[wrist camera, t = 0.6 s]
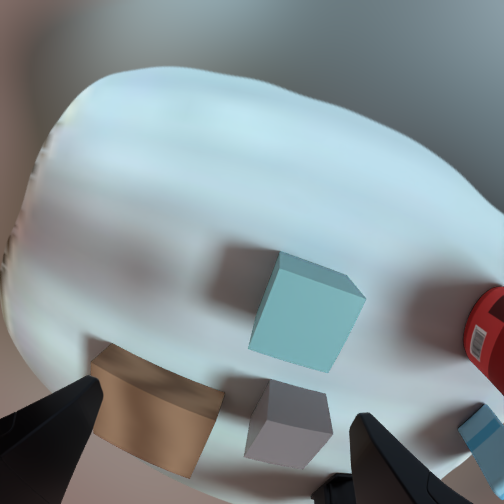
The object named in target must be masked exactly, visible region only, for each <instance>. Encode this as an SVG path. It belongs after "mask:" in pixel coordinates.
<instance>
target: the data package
mask: <svg viewBox="0 0 504 504" xmlns="http://www.w3.org/2000/svg"><path fill="white" fill-rule="evenodd" d="M458 431H459V433H460V435H461V436H462V438H463V439H464V441H465V443H466V444H467V446H468V448H469V449H470V451H471V453H472V455H473V456H474V458H475V460H476V462H477V463H478V465H479V467H480V468H481V470H482V472H483V474H484V476H485V478H486V479H487V481H488V483H489V485H490V487H491V488H492V490H493V492H494V493H495V494H496V495H497V496H498V497H499V498H500V499H501V500H503V499H504V426H503V424H502V423H501V421H500V420H499V419H498V418H497V416H496V415H495V414H494V413H493V411H492V410H491V409H490V408H489V407H488V405H486V404H485V405H483V406H482V407H481V408H480V409H479V410H478V411H477V412H476V413H475V414H474V415H473V416H472V417H471V418H470V419H468V420H467V421H466V422H465V423H464V424H463V425H462V426H460V427H459V428H458Z"/></svg>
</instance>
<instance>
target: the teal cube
mask: <svg viewBox="0 0 504 504" xmlns="http://www.w3.org/2000/svg"><path fill="white" fill-rule="evenodd" d="M365 301H366V298H365V297H364V296H363V294H362V293H361V292H360V291H359V289H358V288H357V287H356V286H355V285H354V283H353V282H352V281H351V280H350V279H349V277H348V276H347V275H344V274H342V273H339V272H336V271H333V270H331V269H328V268H325V267H323V266H320V265H317V264H314V263H312V262H309V261H306V260H303V259H301V258H298V257H295V256H292V255H290V254H287V253H284V252H281V251H280V253H279V256H278V259H277V261H276V264H275V267H274V269H273V272H272V275H271V277H270V280H269V283H268V285H267V288H266V290H265V293H264V296H263V298H262V301H261V304H260V306H259V309H258V311H257V314H256V317H255V321H254V326H253V330H252V334H251V338H250V342H249V346H248V349H250V350H253V351H256V352H259V353H262V354H265V355H268V356H271V357H274V358H277V359H280V360H284V361H287V362H290V363H293V364H297V365H300V366H304V367H307V368H311V369H314V370H318V371H322V372H325V373H328V372H329V371H330V369H331V367H332V365H333V364H334V362H335V360H336V358H337V356H338V355H339V353H340V351H341V349H342V347H343V345H344V343H345V342H346V340H347V338H348V336H349V334H350V332H351V330H352V328H353V326H354V324H355V322H356V320H357V318H358V316H359V314H360V312H361V309H362V307H363V305H364V303H365Z"/></svg>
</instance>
